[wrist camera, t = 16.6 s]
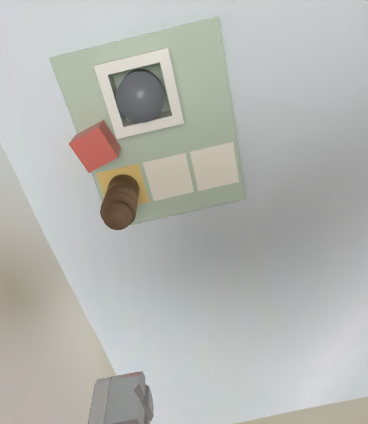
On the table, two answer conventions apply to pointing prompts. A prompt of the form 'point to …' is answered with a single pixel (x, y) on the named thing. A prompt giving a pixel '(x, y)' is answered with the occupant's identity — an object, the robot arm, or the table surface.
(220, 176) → the board
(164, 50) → the housing
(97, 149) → the red cube
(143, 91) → the dome
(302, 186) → the table surface
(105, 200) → the pawn
